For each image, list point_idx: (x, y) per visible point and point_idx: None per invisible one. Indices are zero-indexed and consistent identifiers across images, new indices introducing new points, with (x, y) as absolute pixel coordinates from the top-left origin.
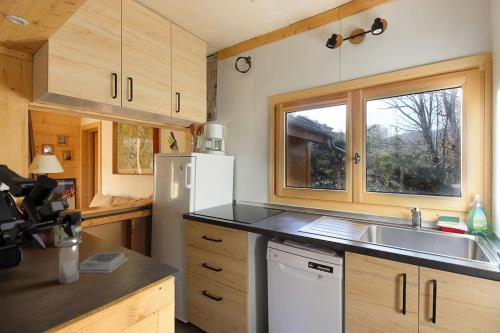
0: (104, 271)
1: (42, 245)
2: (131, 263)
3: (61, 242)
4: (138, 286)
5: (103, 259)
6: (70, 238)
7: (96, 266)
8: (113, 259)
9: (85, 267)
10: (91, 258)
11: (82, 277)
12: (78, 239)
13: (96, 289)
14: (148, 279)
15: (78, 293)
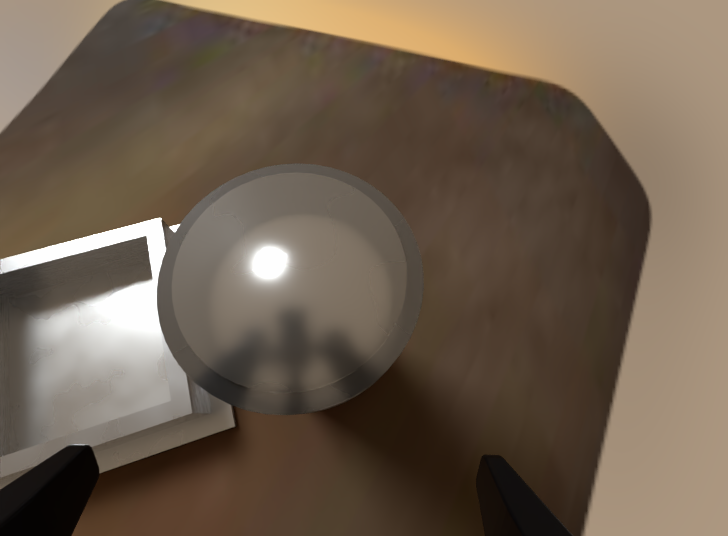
0: None
1: (529, 490)
2: (57, 209)
3: (404, 255)
4: (287, 35)
5: (7, 425)
6: (246, 291)
7: None
8: (93, 240)
9: None
10: (76, 432)
11: None
12: (242, 177)
13: (357, 148)
14: (226, 37)
15: (408, 185)
